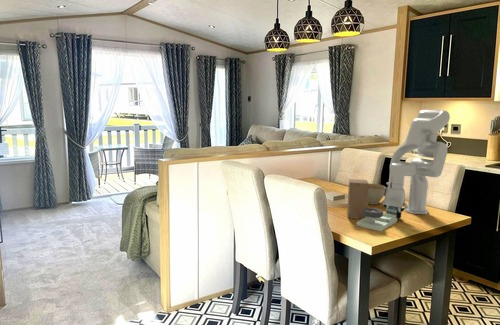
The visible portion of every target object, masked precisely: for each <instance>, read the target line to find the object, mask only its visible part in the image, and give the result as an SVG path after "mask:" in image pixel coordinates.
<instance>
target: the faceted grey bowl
mask: <svg viewBox="0 0 500 325" xmlns="http://www.w3.org/2000/svg"><path fill="white" fill-rule="evenodd" d="M373 211H376V212H373ZM383 212H384V211H383V210H382V209H380V208H376V207H367V208H366V209H363V214H364V215H365V216H367V217H371V218H380V217H382V216H383Z"/></svg>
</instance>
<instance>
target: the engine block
mask: <svg viewBox="0 0 500 325" xmlns="http://www.w3.org/2000/svg"><path fill="white" fill-rule="evenodd" d="M386 211H387V213H389V214H393V215H396V218H397V213H398V207H392V206H390V207H389V208H388V210H386ZM398 220H399V219H397V221H398Z"/></svg>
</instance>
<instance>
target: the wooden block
mask: <svg viewBox="0 0 500 325" xmlns="http://www.w3.org/2000/svg"><path fill="white" fill-rule="evenodd" d="M368 183H369V181H368V180H367V179H358V178H357V179H356V178H355V179H354V178H350V179H348V191H347V207H346V208H347V209H346V212H347V218H350V219H351V218H352V219H353V218H354V219H363V218H365V217H366V216H365V215H364V214H363V209H366V208H368V204H367V203H368V188H369V184H370V183H369V184H368Z"/></svg>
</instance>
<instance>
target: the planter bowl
mask: <svg viewBox="0 0 500 325" xmlns="http://www.w3.org/2000/svg"><path fill="white" fill-rule="evenodd" d="M368 184H369V188H368V203H367V205H374V206H375V205H379V204H380V202H381V200H382V199H383V197H385V193H386V189H387V187H386V186H385V185H382V184H377V183H369V182H368Z"/></svg>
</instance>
